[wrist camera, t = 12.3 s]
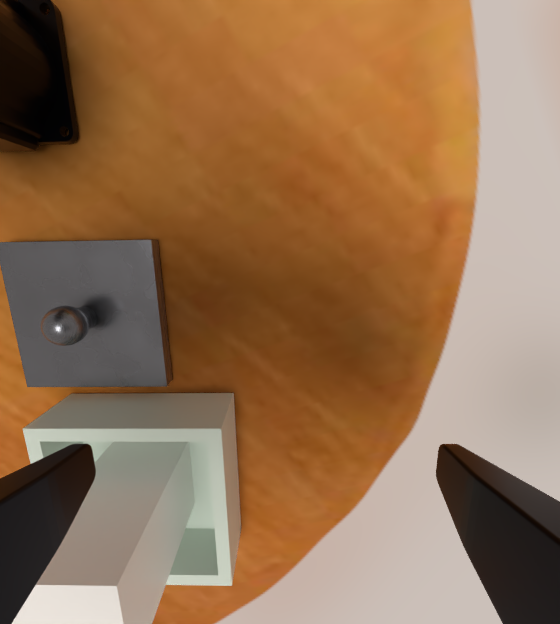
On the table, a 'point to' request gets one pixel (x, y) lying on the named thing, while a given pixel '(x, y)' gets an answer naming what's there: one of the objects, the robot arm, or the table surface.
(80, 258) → the stud plate
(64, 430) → the bin
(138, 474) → the grey tall block
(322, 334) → the table surface
